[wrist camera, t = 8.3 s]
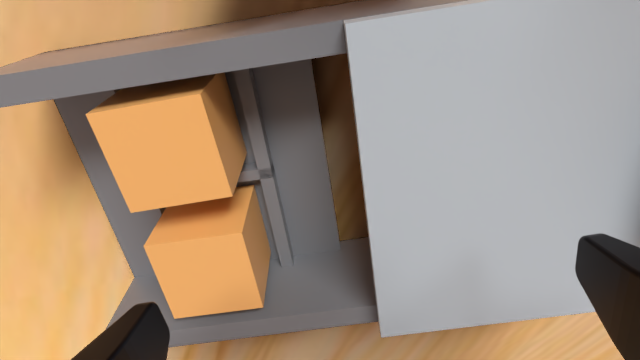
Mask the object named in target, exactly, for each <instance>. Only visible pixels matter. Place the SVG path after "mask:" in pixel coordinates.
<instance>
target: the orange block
mask: <svg viewBox="0 0 640 360" xmlns="http://www.w3.org/2000/svg"><path fill="white" fill-rule="evenodd" d="M144 249H145V251H146V253H147V256H148V258H149V260H150V263H151V265H152V267H153V270H154V272H155V274H156V277H157V279H158V282H159V284H160V286H161V289H162V291H163V293H164V296H165V298H166V300H167V303H168V305H169V307H170V310H171V312H172V314H173V317H174V319H177V318H185V317H193V316H201V315H209V314H217V313H225V312H232V311H240V310H248V309H256V308H263V306H264V298H265V291H266V284H267V277H268V269H269V262H270V255H271V250H270V246H269V242H268V238H267V234H266V230H265V226H264V222H263V218H262V214H261V210H260V206H259V202H258V198H257V194H256V190H255V186H254V185H248V186H241V187H236V188H235V191H234V194H233V196H232V197H226V198H220V199H214V200H208V201H202V202H195V203H189V204H183V205H177V206H171V207H166V209H165V210H164V212H163V214H162V216H161V217H160V219H159V221H158V222H157V224H156V226H155V227H154V229H153V231H152V233H151V234H150V236H149V238H148V239H147V241H146V243H145V244H144Z"/></svg>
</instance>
